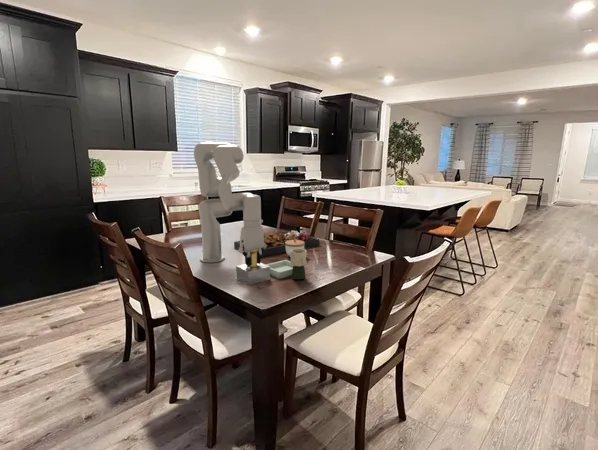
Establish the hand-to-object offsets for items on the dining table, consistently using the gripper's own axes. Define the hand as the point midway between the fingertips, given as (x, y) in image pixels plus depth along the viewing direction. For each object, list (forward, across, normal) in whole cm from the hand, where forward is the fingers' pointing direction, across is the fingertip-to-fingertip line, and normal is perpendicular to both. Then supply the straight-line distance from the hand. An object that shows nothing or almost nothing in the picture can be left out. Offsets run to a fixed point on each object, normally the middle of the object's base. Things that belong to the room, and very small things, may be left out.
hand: (253, 263), depth 152 cm
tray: (+7, -16, 0) cm, 18 cm away
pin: (+7, 0, 0) cm, 7 cm away
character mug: (+7, -16, +12) cm, 21 cm away
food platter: (+8, -41, -37) cm, 56 cm away
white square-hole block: (+7, 0, 0) cm, 7 cm away
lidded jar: (+7, -37, -16) cm, 41 cm away
